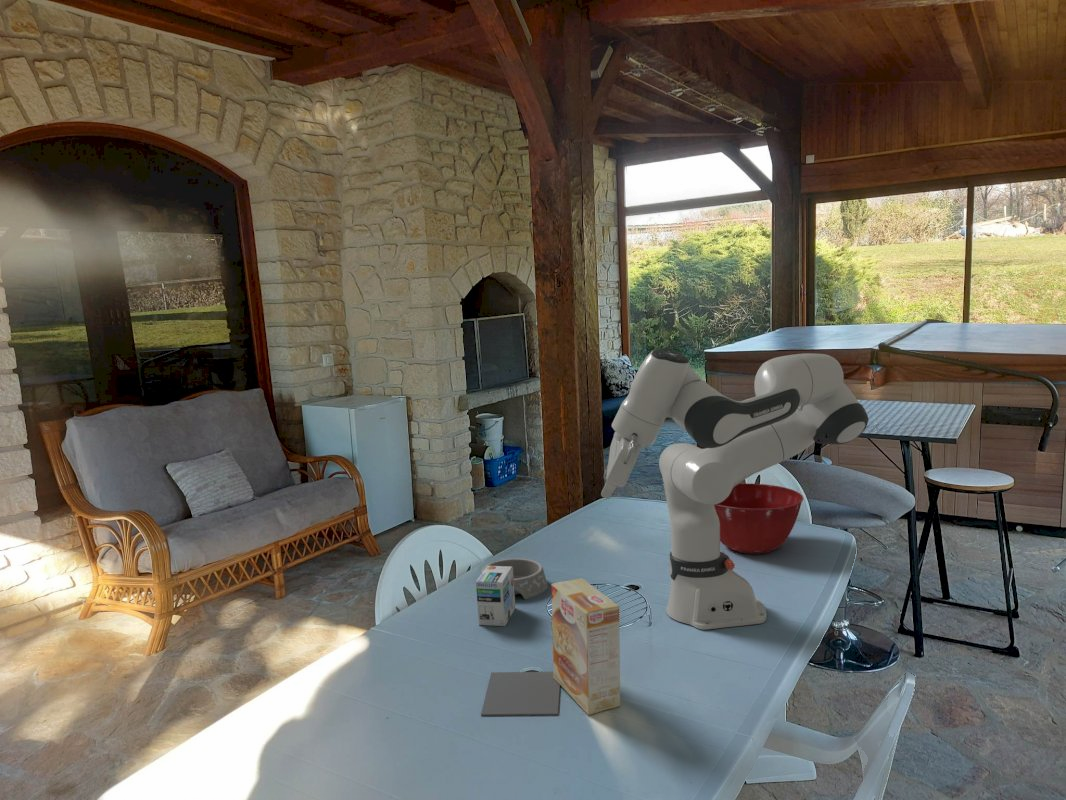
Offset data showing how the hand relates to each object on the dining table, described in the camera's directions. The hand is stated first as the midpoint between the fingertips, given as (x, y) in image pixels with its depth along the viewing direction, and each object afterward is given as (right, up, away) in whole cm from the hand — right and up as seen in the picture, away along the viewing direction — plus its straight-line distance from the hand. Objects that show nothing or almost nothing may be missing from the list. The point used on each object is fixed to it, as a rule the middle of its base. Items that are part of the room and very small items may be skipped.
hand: (605, 487), depth 146 cm
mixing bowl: (+49, -25, +67) cm, 87 cm away
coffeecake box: (-4, -38, -6) cm, 39 cm away
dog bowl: (-20, -32, +47) cm, 60 cm away
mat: (-16, -39, -5) cm, 42 cm away
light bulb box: (-23, -35, +29) cm, 51 cm away
